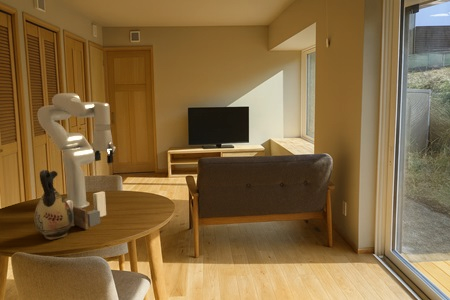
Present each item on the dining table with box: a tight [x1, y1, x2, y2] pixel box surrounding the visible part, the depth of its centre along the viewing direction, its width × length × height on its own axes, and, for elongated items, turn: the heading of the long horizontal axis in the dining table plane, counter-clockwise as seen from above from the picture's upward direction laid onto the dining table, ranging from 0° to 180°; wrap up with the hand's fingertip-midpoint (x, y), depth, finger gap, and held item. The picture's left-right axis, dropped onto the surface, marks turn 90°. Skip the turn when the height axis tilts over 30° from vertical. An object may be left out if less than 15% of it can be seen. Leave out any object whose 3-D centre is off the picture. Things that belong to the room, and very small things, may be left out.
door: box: [73, 206, 89, 230], centre depth 199 cm, size 3×13×9 cm, turn 45°
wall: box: [66, 191, 107, 227], centre depth 208 cm, size 3×24×12 cm, turn 146°
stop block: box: [87, 209, 101, 228], centre depth 203 cm, size 4×6×6 cm, turn 145°
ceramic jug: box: [33, 169, 73, 240], centre depth 186 cm, size 17×15×30 cm
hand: (104, 161), depth 217 cm, fingers open, 9 cm apart
